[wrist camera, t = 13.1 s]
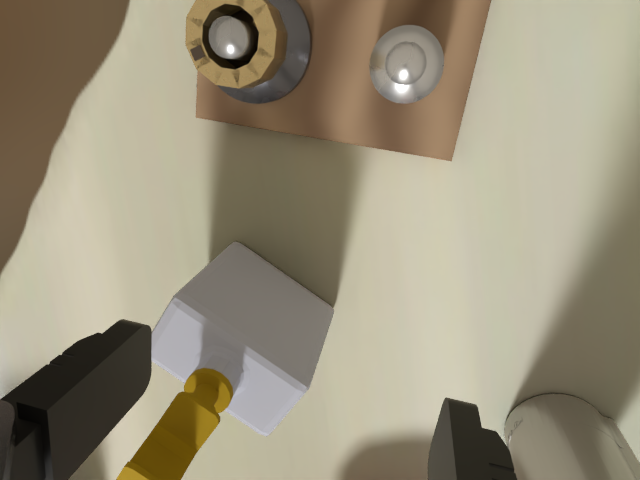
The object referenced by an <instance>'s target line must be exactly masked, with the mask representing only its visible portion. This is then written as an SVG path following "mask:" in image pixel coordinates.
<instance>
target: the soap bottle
mask: <svg viewBox="0 0 640 480" xmlns="http://www.w3.org/2000/svg"><path fill="white" fill-rule="evenodd" d="M333 314H334V309H333V308H332V307H331V306H330V305H329V304H328V303H326V302H325V301H323V300H322V299H320V298H319V297H318V296H316V295H315V294H313V293H312V292H310V291H309V290H307V289H306V288H305V287H303V286H302V285H300V284H299V283H297V282H296V281H295V280H293V279H292V278H290V277H289V276H287V275H286V274H284V273H283V272H282V271H280V270H279V269H277V268H276V267H274V266H273V265H272V264H270V263H269V262H267V261H266V260H264V259H263V258H261V257H260V256H259V255H257V254H256V253H254V252H253V251H251V250H250V249H248V248H247V247H246V246H244V245H243V244H241V243H239V242H233V243H232V244H230V245H229V246H228V247H227V248H226V249H224V250H223V251H222V252H221V253H220V254H219V255H218V256H217V257H216V258H215V259H213V260H212V261H211V262H210V263H209V264H208V265H207V266H206V267H205V268H204V269H203V270H201V271H200V272H199V273H198V274H197V275H196V276H195V277H194V278H193V279H192V280H190V281H189V282H188V283H187V284H186V285H185V286H184V287H183V288H182V289H181V290H179V291H178V292H177V293H176V294H175V295H174V296H173V298H172V300H171V301H170V303H169V305H168V306H167V308H166V310H165V311H164V313H163V315H162V316H161V318H160V320H159V321H158V323H157V325H156V326H155V328H154V330H153V331H152V350H151V361H152V362H154V363H155V364H157V365H158V366H160V367H161V368H163V369H164V370H166V371H167V372H169V373H170V374H172V375H173V376H175V377H176V378H178V379H179V380H180V381H182V382H183V383H185V385H184V391H185V392H180V393H178V394H177V396H176V397H175V399H174V400H173V402H172V403H171V405H170V406H169V407H168V409H167V410H166V412H165V413H164V415H163V416H162V418H161V419H160V421H159V422H158V423H157V425H156V426H155V428H154V429H153V430H152V432H151V433H150V435H149V436H148V437H147V439H146V440H145V441H144V443H143V444H142V445H141V447H140V448H139V450H138V451H137V452H136V454H135V455H134V456H133V458H132V459H131V460H130V462H127V464H126V465H125V466H124V468H123V470H122V471H121V473H120V474H119V476H118V477H117V479H116V480H181V478H182V477H183V475H184V473H185V471H186V470H187V468H188V466H189V464H190V463H191V461H192V459H193V458H194V456H195V455H196V453H197V451H198V450H199V449H200V447H201V446H202V445H203V443H204V442H205V441H206V440H207V438H208V437H209V436H210V434H211V433H212V432H213V431H214V429H215V428H216V427H217V425H218V424H219V422H220V416H219V414H218V413H221V412H222V411H224V410H225V411H226V412H228V413H229V414H231V415H232V416H234V417H235V418H237V419H238V420H240V421H241V422H243V423H244V424H246V425H247V426H249V427H250V428H252V429H253V430H254V431H256V432H257V433H259V434H261V435H264V436H268V435H269V434H270V433H271V432H272V431H273V430H274V429H275V428H276V426H277V425H278V424H279V423H280V422H281V421H282V419H283V418H284V417H285V416H286V415H287V414H288V412H289V411H290V410H291V409H292V408H293V407H294V405H295V404H296V403H297V402H298V401H299V400H300V398H301V397H302V396H303V395H304V394H305V393H306V391H307V390H308V389H309V387H310V384H311V381H312V378H313V375H314V372H315V369H316V366H317V363H318V360H319V357H320V354H321V351H322V348H323V345H324V342H325V338H326V335H327V332H328V329H329V326H330V323H331V320H332V317H333Z"/></svg>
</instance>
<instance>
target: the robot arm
mask: <svg viewBox="0 0 640 480" xmlns="http://www.w3.org/2000/svg"><path fill="white" fill-rule="evenodd" d="M151 350H152V332H151V328H150V326H148V325H145V324H140V323H136V322H132V321H128V320H124V319H122V320H119V321H118V322H116V323H115V324H114V325H113V326H111V327H110V328H109V329H108V330H106V331H105V332H104V333H103V334H101V333H96V334H94V335H91V336H89V337H86V338H84V339H81V340H79V341H77V342H76V343H75V344H73V345H72V346H71V347H69V348H68V349H67V350H65V351H64V352H63V354H62V355H59V356H57V357H56V358H55V359H53V360H52V361H51V362H50V364H49V365H45V366H44V367H43V368H41V369H40V370H39V371H37V372H36V373H35V374H33V375H32V376H31V377H29V378H28V379H27V380H25V381H24V382H23V383H22V384H20V385H19V386H18V387H16V388H15V389H14V390H12V391H11V392H10V393H8V394H7V395H6V396H4V397H3V398H2V399H0V480H68V479H69V478H70V477H71V476H72V474H73V473H74V472H75V471H76V470H77V469H78V468H79V466H80V465H81V464H82V463H83V462H84V461H85V460H86V459H87V457H88V456H89V455H90V454H91V453H92V452H93V451H94V449H95V448H96V447H97V446H98V445H99V444H100V443H101V442H102V440H103V439H104V438H105V437H106V436H107V435H108V434H109V432H110V431H111V430H112V429H113V428H114V427H115V426H116V425H117V423H118V422H119V421H120V420H121V419H122V418H123V417H124V415H125V414H126V413H127V412H128V411H129V410H130V409H131V408H132V406H133V405H134V404H135V403H136V402H137V401H138V400H139V398H140V397H141V396H142V395H143V394H144V392H145V390H146V388H147V386H148V384H149V381H150V377H151ZM504 431H505V439H506V443H507V446H506V444H505V443H504V442H503V440H502V439H501V437H500V436H499V435H498V433H497V432H496V431H492V430H488V429H484V428H482V427H481V422H480V417H479V412H478V407H477V405H475V404H471V403H467V402H463V401H459V400H454V399H450V398H445V399H444V402H443V404H442V408H441V411H440V415H439V418H438V422H437V425H436V429H435V432H434V436H433V439H432V443H431V447H430V452H429V459H428V480H640V463H639V461H638V460H637V458H636V456H635V455H634V453H633V451H632V450H631V448H630V446H629V445H628V443H627V441H626V440H625V438H624V436H623V435H622V433H621V431H620V430H619V428H618V426H617V425H616V423H615V421H614V420H613V419H611V418H606V417H604V416H602V415H601V414H600V413H599V412H598V411H597V410H596V409H595V408H594V407H593V406H592V405H590V404H589V403H587V402H586V401H584V400H582V399H579V398H577V397H574V396H570V395H566V394H544V395H540V396H536V397H532V398H530V399H528V400H526V401H524V402H522V403H521V404H520V405H518V406H517V407H516V408H515V409H514V410H513V411H512V412H511V413H510V415H509V417H508V419H507V420H506V424H505V428H504Z"/></svg>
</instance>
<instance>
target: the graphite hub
mask: <svg viewBox="0 0 640 480" xmlns="http://www.w3.org/2000/svg"><path fill="white" fill-rule="evenodd" d="M268 1H269V2H270V3H271V4H272V5H273V6H275V7H276V8H277V9H278V10H279V12H280V14H281V17H282V20H283V22H284V25H285V28H286V30H287V33H288V40H287V49H286V59H285V61H284V62H283V64H282V65H281V67H280V68H279V70H278V71H277V73H276V74H275V76H274V77H273V79H271V80H269V81H267V82H264V83H262V84H260V85H258V86H256V87H253V88H232V87H226V86H220V85H217V86H218V87H219V88H220V89H221V90H222V91H223V92H225V93H226V94H228V95H229V96H231V97H233V98H234V99H237V100H239V101H242V102H246V103H252V104H262V103H268V102H273V101H276V100H279V99H281V98H283V97H285V96H286V95H288V94H289V93H291V92H292V91H293V90H294V89H295V88H296V87H297V86H298V84H299V83H300V82H301V81H302V79H303V77H304V76H305V74H306V72H307V69H308V67H309V63H310V60H311V55H312V34H311V28H310V25H309V22H308V19H307V17H306V14H305V12H304V11H303V9H302V7H301V6H300V4H299V3H298V2H297V0H268ZM258 38H259V32H258V29H257V27H256V24H255V22H254V19H253V16H251V15H250V14H249V13H248V12H247V11H243V10H240V11H238V12H236V13H234V14H232V15H230V16H222V17H219V18H217V19H216V20H215V21H214V22H213V23H212V25H211V27H210V29H209V43H210V46H211V48H212V49H213V51H214V52H215V53H216V54H217V55H219V56H220V57H223V58H225V60H227V61H228V62H229V63H230V64H231V65H233V66H234V67H235V68H236V69H238V68H240V67H242V66H244V65H247V64H249V62H250V61H251V59H252V58H253V56H254V55H255V53H256V52H257V50H258Z"/></svg>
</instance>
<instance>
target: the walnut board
mask: <svg viewBox="0 0 640 480" xmlns="http://www.w3.org/2000/svg"><path fill="white" fill-rule="evenodd" d="M297 2H298V3H299V4H300V6H301V7H302V9H303V11H304V12H305V14H306V17H307V19H308V22H309V25H310V28H311V34H312V55H311V60H310V63H309V67H308V69H307V72H306V74H305V76H304V77H303V79H302V81H301V82H300V83H299V84H298V86H297V87H296V88H295V89H294V90H293V91H292V92H291V93H289V94H288V95H286V96H285V97H283V98H281V99H279V100H276V101H273V102H268V103H262V104H252V103H246V102H242V101H239V100H237V99H234V98H233V97H231V96H229V95H228V94H226V93H225V92H223V91H222V90H221V89H220V88H219V87H218V86H217V85H215V84H214V83H213V82H212V81H210V80H209V79H208V78H207V77H205V76H204V75H203V74H202V73H201V72H199V71H198V75H197V101H196V118H202V119H208V120H214V121H220V122H226V123H231V124H237V125H243V126H249V127H255V128H261V129H267V130H272V131H278V132H284V133H290V134H296V135H302V136H308V137H313V138H319V139H325V140H331V141H337V142H343V143H348V144H354V145H360V146H366V147H372V148H378V149H384V150H389V151H395V152H401V153H407V154H413V155H419V156H425V157H430V158H436V159H442V160H448V161H452V157H453V153H454V149H455V145H456V141H457V137H458V133H459V129H460V125H461V121H462V117H463V112H464V108H465V104H466V100H467V96H468V92H469V88H470V84H471V80H472V76H473V72H474V68H475V64H476V60H477V56H478V52H479V48H480V43H481V39H482V35H483V31H484V27H485V23H486V19H487V15H488V11H489V7H490V3H491V0H297ZM402 25H416V26H420V27H423V28H425V29H427V30H428V31H430V32H431V33H432V34H433V35H434V36H435V37H436V38H437V40H438V41H439V43H440V45H441V47H442V50H443V54H444V69H443V73H442V76H441V79H440V81H439V83H438V84H437V86H436V87H435V89H434V90H433V91H432V92H431V93H430V94H429V95H427V96H426V97H424V98H423V99H421V100H419V101H416V102H413V103H407V104H402V103H395V102H392V101H390V100H388V99H386V98H385V97H383V96H382V95H381V94H380V93H379V92H378V91H377V89H376V88H375V86H374V85H373V82H372V80H371V76H370V71H369V64H370V57H371V54H372V51H373V49H374V47H375V45H376V43H377V42H378V40H379V39H380V38H381V37H382V36H383V35H384V34H385V33H387V32H388V31H390V30H391V29H393V28H396V27H398V26H402Z"/></svg>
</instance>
